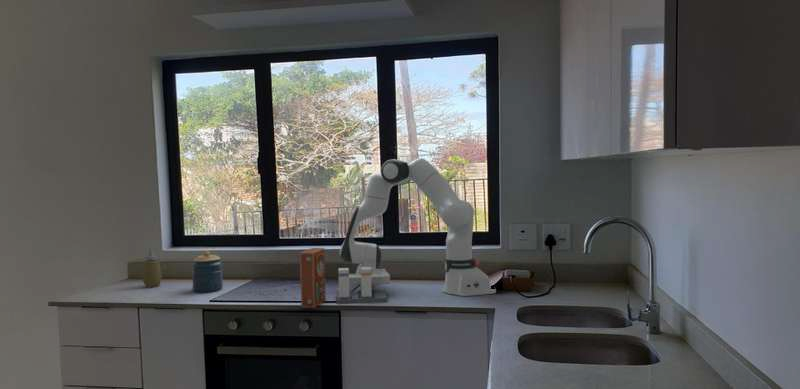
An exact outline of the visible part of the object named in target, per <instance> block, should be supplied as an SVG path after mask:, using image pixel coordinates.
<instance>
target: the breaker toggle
mask: <svg viewBox="0 0 800 389" xmlns="http://www.w3.org/2000/svg"><path fill="white" fill-rule="evenodd" d="M360 288H361V289H360V291H361V292H362V297H368V296H372V292H371V290H372V286H371V267H365V268H361V286H360Z"/></svg>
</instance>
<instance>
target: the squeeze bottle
mask: <svg viewBox="0 0 800 389" xmlns="http://www.w3.org/2000/svg"><path fill="white" fill-rule="evenodd" d="M145 260H146V261H144V262H143V272H142V275H143V276H142V281H143V284H144V287H145V288H157V287H160V285H161V282H162V278H163V277H162V271H161V263H160V260H158V255H156V254H155V251H154V248H149V252H148V256H145Z"/></svg>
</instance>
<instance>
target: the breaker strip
mask: <svg viewBox="0 0 800 389" xmlns="http://www.w3.org/2000/svg"><path fill="white" fill-rule="evenodd" d="M349 269H350V267H340V268H338V270H337V272H338V276H337V277H338V290H337V291H336V296H335V299H336V301H335V302H336V305H337V304H360V303H361V304H362V303H364V304H365V303H384V302H385V303H386V302H388V299H387V297H388V296H387V292H386V289H379V290H377V289H376V290H375V289H371V292H372V296H368V297H362V292H361V289H360V290H350V285H349V274H350V270H349Z"/></svg>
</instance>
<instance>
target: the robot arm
mask: <svg viewBox="0 0 800 389" xmlns="http://www.w3.org/2000/svg"><path fill="white" fill-rule="evenodd" d="M410 182H413V183H414V184H415V185H416V186H417V187H418V189H420V191H421V192H422V193H423V194H424V195H425V197H426V198H427V199H428V200H429V201H430V202H431V204H432V206H433V207H434V209H435V211H436V212H437V214H438V215H439V217H440V218H441V220H442V222H443V223H444V224H445V225H446V226H447V234H446V237H445V238H446V239H445V258H444V270H445V278H444V279H445V280H444V285H443V287H442V288H443V289H442V292H443V293H445V294H450V295H455V296H456V295H457V296H460V297H470V296H480V295H481V296H482V295H490V294H491V295H492V294H496V293H497V289H496V288H495V289H491V286H492V285H491V281H490V277H489V276H488V275H487V274H486V273H485V272H484V271H482V270H481V269H480V268H478V267H477V266H479V265H480V261H479V260H478V259H475V258H473V245H472V244H473V230H474V220H475V219H474V216H475V209H474V207H473V205H472V204H471V203H470V202H469V201H467V200H463V199H460V198H459V196H458V195H457V194H456V193H455V190H453V188H452V186H451V184H450V183H449V182H448V181H447V180H446V178H445V177H444V176H443V175H442V174H441V172H439V170H437V168H436V167H434V165H433V164H431V163H430V162H429V161H428V160H426V159H425V158H423V157H418V158H416V159H414V160H412V161H411V162H410V163H408V162H407V161H404V160H401V159H395V158H393V159H392V158H390V159H388V160H386V161H385V162H384V163H383V164H382V165H381V168H380V172H374V173H372V174H370V175H369V177H368V180H367V183H366V186H365V190H364V191H365V192H364V197H363V200H362V202H361V203H360V204H359V205H356V207H355V208H354V211H353V213H352V216H351V219H350V222H349V225H348V228H347V232H346V233H345V234H346V235H345V239H344V240H343V243H342V244H341V246H340V249H339V257H340V259H341V260H342V261H343V262H344V263H346V264H358V265H357V268H356V273H349V286H360V287H361V268H365V267H371V287H372V286H376V285H390V284H391V275H390V273H389V272H388V271H386V270H387V269H386V268H382V267H381V268H380V264H381V261H382V260H381V259H382V250H381V247H380V246H379V244H376V243H370V242H364V241H363V242H362V241H356V240H355V237H356V233H357V232H358V231H357V230H358V228H359V225H360V223H361V222H363V221H365V220H368V219H373V218H377V217H380V216H381V215H383V214H384V213H385V212H386V211H387V209H388V206H389V200H390V193H391V189H392V187H397V186H404V185H406V184H409V183H410Z"/></svg>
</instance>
